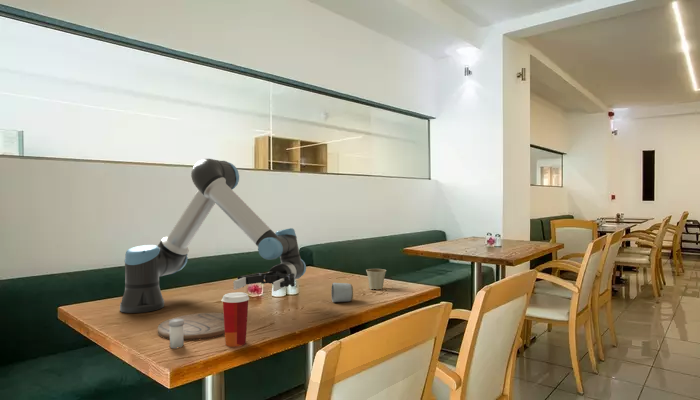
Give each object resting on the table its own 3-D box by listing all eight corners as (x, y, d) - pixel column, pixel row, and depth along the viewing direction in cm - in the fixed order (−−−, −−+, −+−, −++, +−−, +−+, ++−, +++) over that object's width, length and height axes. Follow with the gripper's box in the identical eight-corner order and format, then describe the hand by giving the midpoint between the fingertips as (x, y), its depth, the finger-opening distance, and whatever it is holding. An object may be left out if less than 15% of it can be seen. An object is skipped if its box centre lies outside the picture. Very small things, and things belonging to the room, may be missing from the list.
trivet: (208, 314, 155) (208, 309, 155) (256, 325, 141) (256, 320, 141) (141, 331, 135) (141, 325, 135) (189, 347, 120) (189, 340, 120)
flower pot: (376, 286, 204) (376, 267, 204) (390, 289, 197) (390, 270, 197) (361, 288, 198) (361, 270, 198) (375, 292, 191) (375, 272, 191)
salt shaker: (166, 347, 119) (166, 321, 119) (175, 343, 123) (175, 318, 123) (178, 349, 118) (178, 322, 118) (186, 344, 122) (186, 319, 122)
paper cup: (247, 338, 127) (247, 291, 127) (251, 346, 120) (251, 296, 120) (220, 341, 124) (220, 293, 124) (222, 349, 117) (222, 298, 117)
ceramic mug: (353, 303, 170) (353, 283, 170) (333, 304, 168) (333, 284, 169) (348, 297, 180) (348, 279, 180) (329, 298, 179) (329, 280, 179)
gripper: (315, 285, 150) (292, 299, 129) (250, 283, 156) (218, 296, 136) (315, 264, 150) (291, 274, 129) (250, 263, 156) (218, 273, 136)
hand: (254, 286), depth 132 cm, fingers open, 13 cm apart
